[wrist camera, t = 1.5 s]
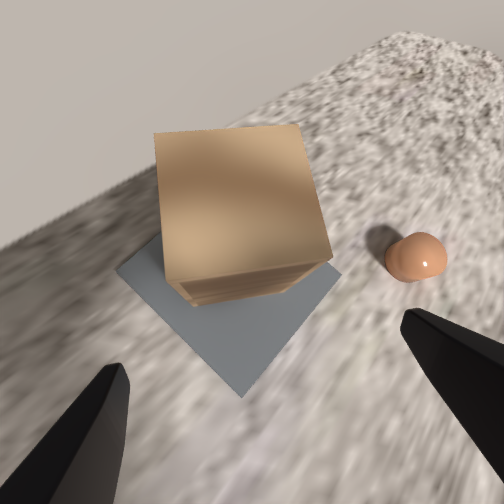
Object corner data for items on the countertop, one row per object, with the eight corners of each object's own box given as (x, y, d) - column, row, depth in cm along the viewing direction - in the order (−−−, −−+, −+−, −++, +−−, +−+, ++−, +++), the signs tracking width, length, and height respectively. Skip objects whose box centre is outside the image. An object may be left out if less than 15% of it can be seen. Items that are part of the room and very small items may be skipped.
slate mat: (339, 275, 22) (341, 274, 22) (241, 397, 19) (241, 398, 19) (226, 177, 24) (226, 174, 24) (117, 272, 21) (115, 271, 20)
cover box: (283, 292, 21) (333, 257, 12) (193, 306, 20) (166, 281, 11) (267, 211, 23) (298, 123, 13) (183, 220, 22) (153, 133, 12)
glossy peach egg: (431, 261, 24) (455, 253, 21) (411, 291, 23) (433, 286, 20) (398, 234, 24) (417, 223, 22) (377, 262, 23) (394, 254, 21)
